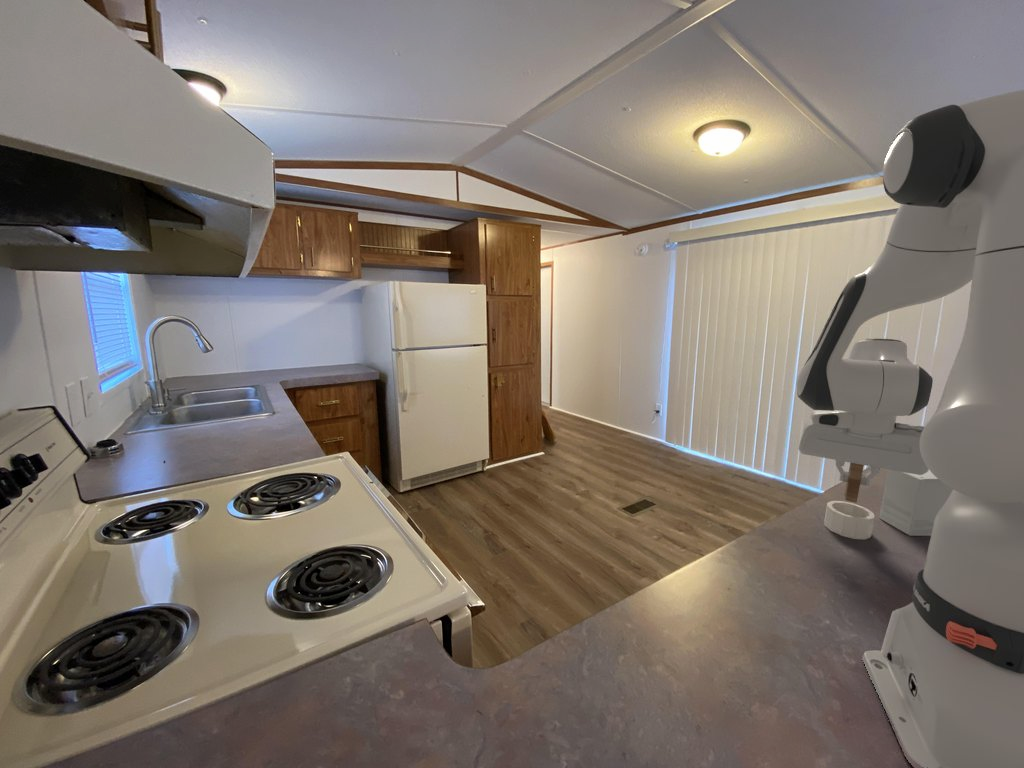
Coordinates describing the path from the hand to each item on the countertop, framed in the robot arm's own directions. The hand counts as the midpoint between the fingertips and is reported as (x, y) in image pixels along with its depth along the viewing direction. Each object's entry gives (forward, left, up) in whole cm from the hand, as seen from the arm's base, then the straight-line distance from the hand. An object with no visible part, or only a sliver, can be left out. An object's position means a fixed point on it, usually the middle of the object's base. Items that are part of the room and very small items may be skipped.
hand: (853, 482), depth 84 cm
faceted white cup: (0, 0, -11) cm, 11 cm away
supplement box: (+9, -11, -11) cm, 18 cm away
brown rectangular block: (0, 0, -4) cm, 4 cm away
